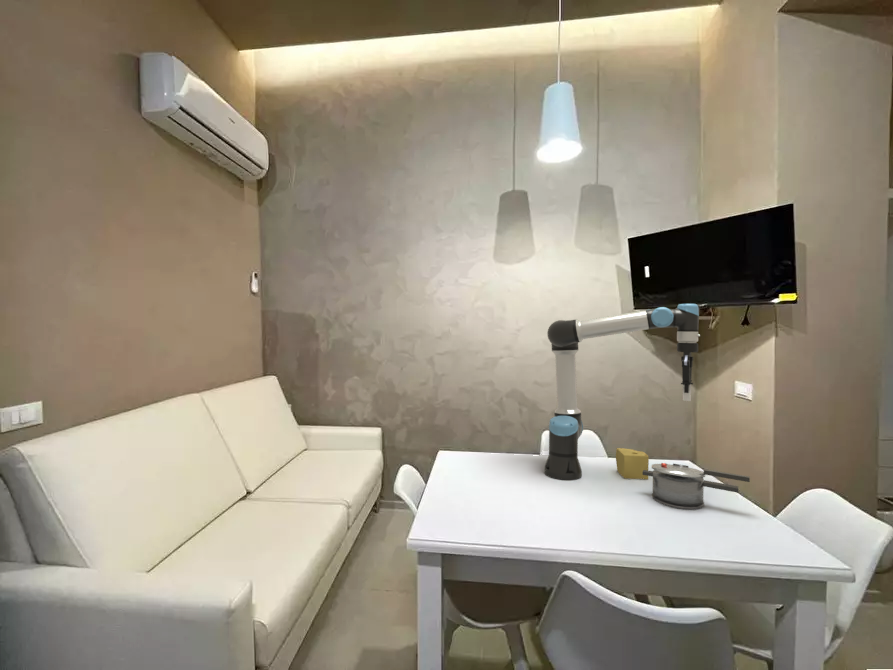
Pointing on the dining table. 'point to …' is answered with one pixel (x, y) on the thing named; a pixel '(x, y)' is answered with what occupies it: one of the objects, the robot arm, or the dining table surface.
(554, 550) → the dining table surface
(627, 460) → the cheese
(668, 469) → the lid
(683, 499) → the pot
